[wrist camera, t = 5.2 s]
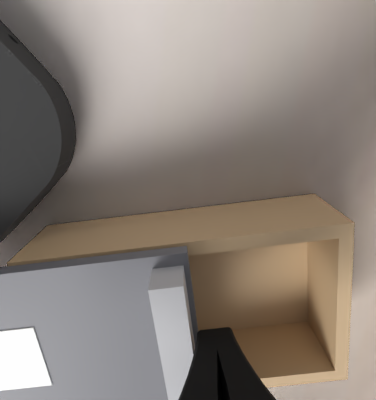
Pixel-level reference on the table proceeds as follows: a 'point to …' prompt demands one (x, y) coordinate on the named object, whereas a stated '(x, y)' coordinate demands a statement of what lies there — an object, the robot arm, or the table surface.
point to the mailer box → (245, 275)
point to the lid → (98, 327)
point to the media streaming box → (29, 132)
